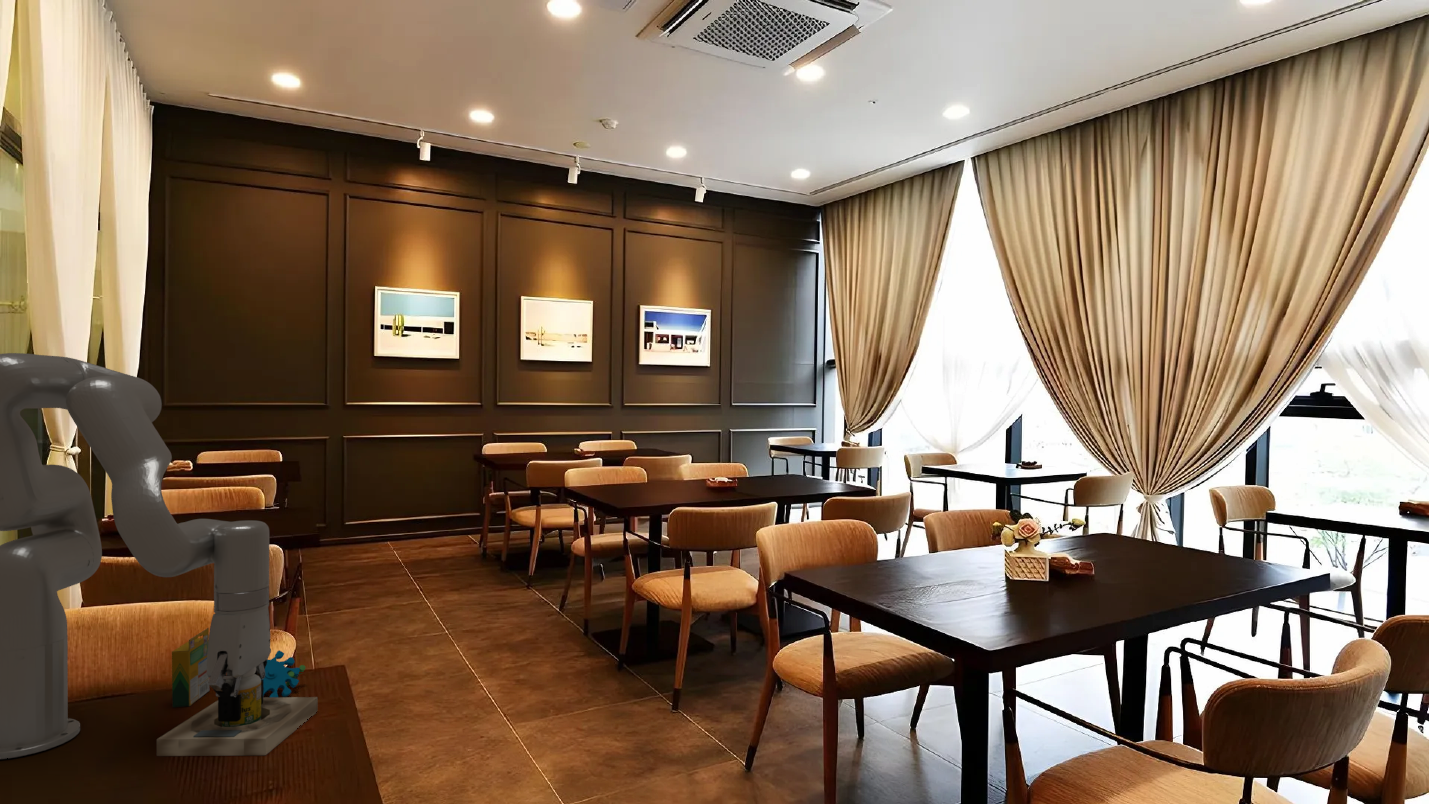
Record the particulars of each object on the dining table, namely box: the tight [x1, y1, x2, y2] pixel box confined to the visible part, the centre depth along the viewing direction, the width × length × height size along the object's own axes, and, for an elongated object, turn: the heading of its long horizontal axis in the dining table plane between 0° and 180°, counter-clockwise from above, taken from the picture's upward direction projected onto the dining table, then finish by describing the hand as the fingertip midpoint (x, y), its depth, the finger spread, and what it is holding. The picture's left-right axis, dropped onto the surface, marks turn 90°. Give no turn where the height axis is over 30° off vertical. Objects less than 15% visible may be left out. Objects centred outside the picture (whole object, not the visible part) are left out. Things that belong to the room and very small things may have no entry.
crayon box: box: [171, 627, 210, 708], centre depth 137 cm, size 7×3×12 cm, turn 10°
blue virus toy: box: [261, 650, 307, 697], centre depth 140 cm, size 11×6×10 cm
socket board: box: [156, 696, 319, 757], centre depth 124 cm, size 16×16×3 cm
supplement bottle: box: [222, 667, 261, 727], centre depth 124 cm, size 5×5×10 cm
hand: (241, 711), depth 124 cm, fingers open, 5 cm apart
